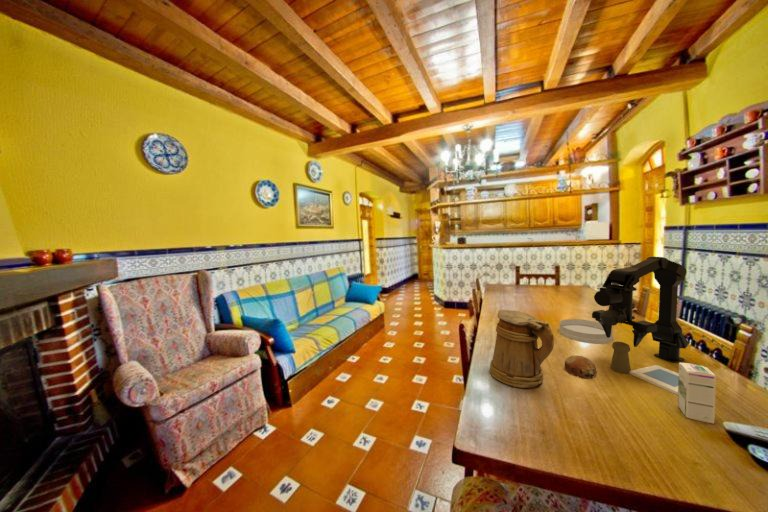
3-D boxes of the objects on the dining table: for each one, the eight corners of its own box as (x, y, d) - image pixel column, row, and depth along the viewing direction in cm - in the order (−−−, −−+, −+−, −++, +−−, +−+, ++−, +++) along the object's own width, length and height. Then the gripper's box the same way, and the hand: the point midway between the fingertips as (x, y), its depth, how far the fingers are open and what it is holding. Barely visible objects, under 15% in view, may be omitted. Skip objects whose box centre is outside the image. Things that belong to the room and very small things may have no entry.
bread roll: (593, 378, 102) (591, 357, 105) (601, 380, 93) (598, 357, 96) (563, 374, 106) (561, 353, 109) (568, 375, 98) (566, 353, 100)
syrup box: (715, 424, 72) (718, 375, 71) (684, 417, 75) (686, 370, 74) (704, 412, 77) (707, 365, 75) (676, 406, 80) (678, 361, 79)
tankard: (506, 359, 114) (505, 304, 112) (566, 383, 94) (567, 317, 92) (480, 372, 104) (479, 313, 102) (541, 403, 85) (541, 330, 82)
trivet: (655, 367, 101) (655, 364, 101) (707, 387, 88) (707, 384, 88) (629, 373, 98) (629, 371, 98) (679, 395, 84) (679, 392, 84)
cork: (635, 374, 97) (636, 346, 96) (616, 373, 98) (617, 346, 97) (623, 366, 103) (624, 339, 102) (606, 365, 104) (607, 339, 103)
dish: (625, 343, 123) (626, 333, 122) (579, 345, 123) (579, 335, 123) (589, 326, 145) (589, 317, 144) (549, 328, 145) (549, 320, 145)
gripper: (581, 299, 106) (581, 336, 107) (635, 312, 87) (634, 356, 89) (602, 296, 108) (601, 332, 110) (659, 308, 90) (657, 350, 91)
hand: (621, 341), depth 100 cm, fingers open, 9 cm apart
